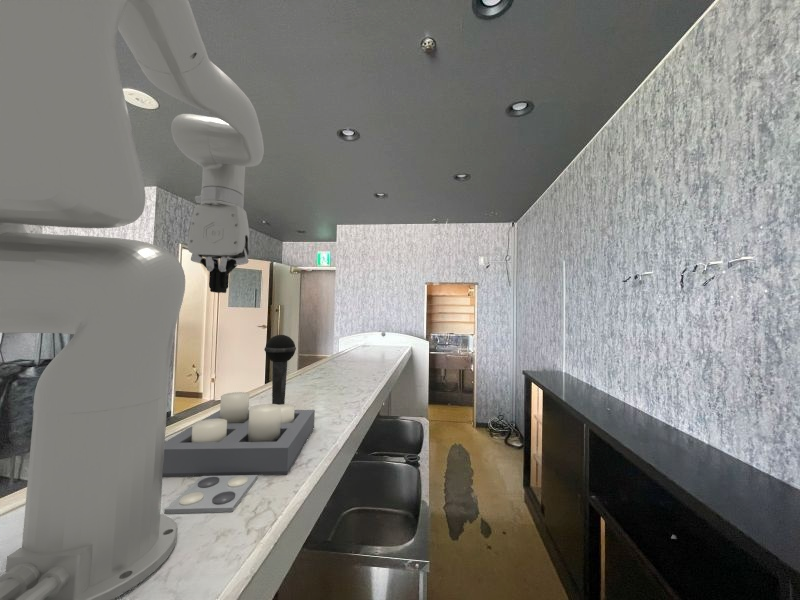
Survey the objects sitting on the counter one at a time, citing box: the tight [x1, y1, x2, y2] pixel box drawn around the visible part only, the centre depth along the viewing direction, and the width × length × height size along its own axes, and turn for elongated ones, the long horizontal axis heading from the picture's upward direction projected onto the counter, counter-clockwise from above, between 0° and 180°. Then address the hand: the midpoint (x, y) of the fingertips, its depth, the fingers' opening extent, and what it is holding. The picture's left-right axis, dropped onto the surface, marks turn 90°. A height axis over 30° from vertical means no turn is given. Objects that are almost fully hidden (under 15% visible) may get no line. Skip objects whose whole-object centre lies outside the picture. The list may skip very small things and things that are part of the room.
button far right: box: [280, 403, 296, 423], centre depth 62 cm, size 5×5×5 cm
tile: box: [163, 475, 259, 515], centre depth 42 cm, size 8×8×1 cm
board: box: [163, 409, 315, 478], centre depth 57 cm, size 20×20×4 cm
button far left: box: [219, 391, 250, 423], centre depth 61 cm, size 5×5×5 cm
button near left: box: [191, 419, 227, 443], centre depth 52 cm, size 5×5×5 cm
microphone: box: [264, 334, 297, 405], centre depth 71 cm, size 7×7×20 cm
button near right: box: [248, 403, 281, 442], centre depth 53 cm, size 5×5×5 cm
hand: (218, 292), depth 62 cm, fingers closed
